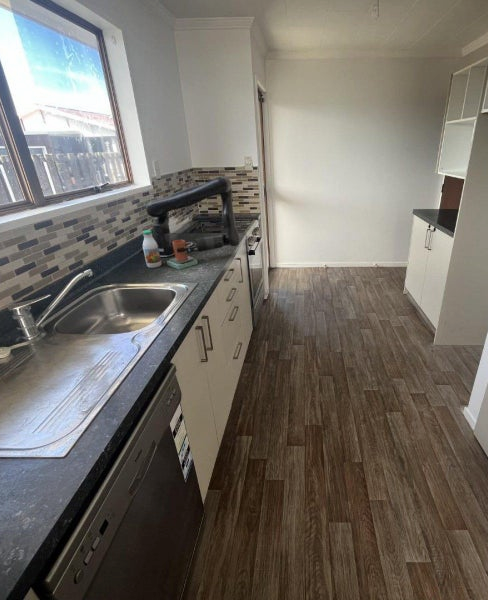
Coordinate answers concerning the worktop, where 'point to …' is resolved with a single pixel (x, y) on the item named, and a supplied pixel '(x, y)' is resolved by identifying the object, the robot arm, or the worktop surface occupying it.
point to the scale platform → (181, 260)
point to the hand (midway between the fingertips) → (175, 249)
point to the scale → (182, 264)
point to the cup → (181, 254)
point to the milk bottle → (151, 250)
